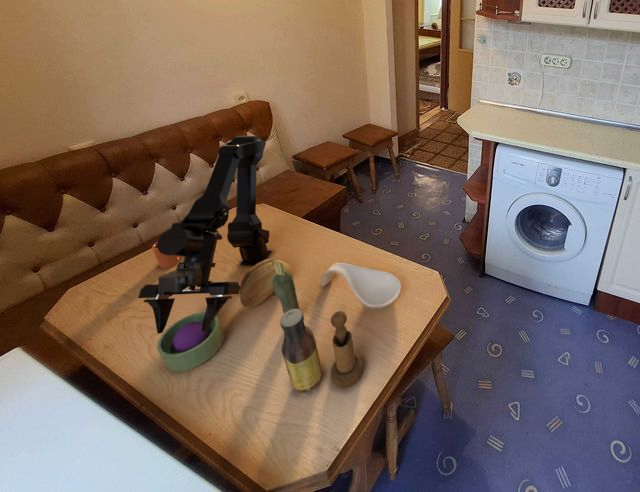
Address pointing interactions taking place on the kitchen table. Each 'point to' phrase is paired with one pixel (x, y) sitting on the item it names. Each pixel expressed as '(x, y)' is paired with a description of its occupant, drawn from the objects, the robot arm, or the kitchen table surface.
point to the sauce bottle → (300, 352)
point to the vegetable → (284, 287)
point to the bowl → (192, 356)
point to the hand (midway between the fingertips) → (182, 332)
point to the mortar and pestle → (344, 354)
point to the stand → (164, 258)
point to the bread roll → (259, 282)
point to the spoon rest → (367, 284)
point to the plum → (189, 336)
